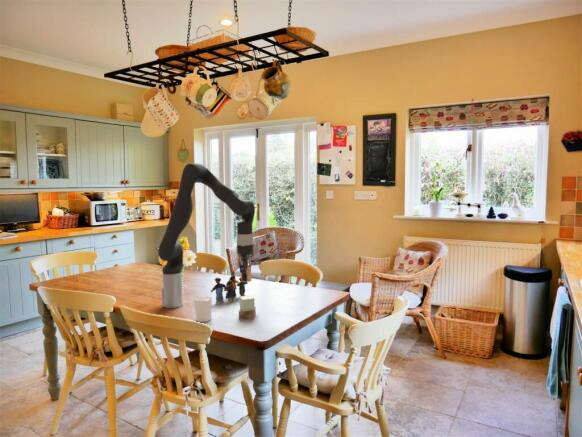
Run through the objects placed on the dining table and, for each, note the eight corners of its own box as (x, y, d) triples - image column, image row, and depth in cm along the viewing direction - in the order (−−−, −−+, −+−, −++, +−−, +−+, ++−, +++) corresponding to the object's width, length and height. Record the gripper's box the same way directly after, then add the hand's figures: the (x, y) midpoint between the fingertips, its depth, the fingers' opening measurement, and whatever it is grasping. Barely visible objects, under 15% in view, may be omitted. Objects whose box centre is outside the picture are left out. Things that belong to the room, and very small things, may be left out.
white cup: (191, 321, 190) (190, 300, 189) (201, 315, 197) (200, 295, 196) (206, 323, 187) (205, 301, 186) (215, 317, 194) (214, 296, 193)
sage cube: (243, 311, 191) (242, 299, 191) (239, 308, 196) (239, 296, 196) (254, 309, 193) (254, 298, 193) (251, 306, 198) (250, 295, 198)
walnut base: (239, 320, 192) (238, 311, 191) (241, 314, 199) (240, 306, 198) (254, 319, 192) (253, 311, 191) (255, 314, 199) (255, 306, 198)
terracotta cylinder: (239, 281, 191) (239, 269, 191) (242, 279, 196) (242, 266, 195) (249, 282, 191) (249, 269, 190) (252, 279, 195) (252, 267, 195)
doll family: (223, 307, 210) (222, 281, 208) (209, 304, 214) (208, 279, 213) (249, 295, 230) (248, 271, 229) (235, 293, 234) (234, 270, 233)
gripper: (241, 240, 199) (242, 275, 201) (232, 245, 185) (233, 283, 187) (256, 241, 198) (257, 276, 200) (249, 246, 184) (250, 283, 186)
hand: (246, 279), depth 193 cm, fingers closed on terracotta cylinder, 4 cm apart
